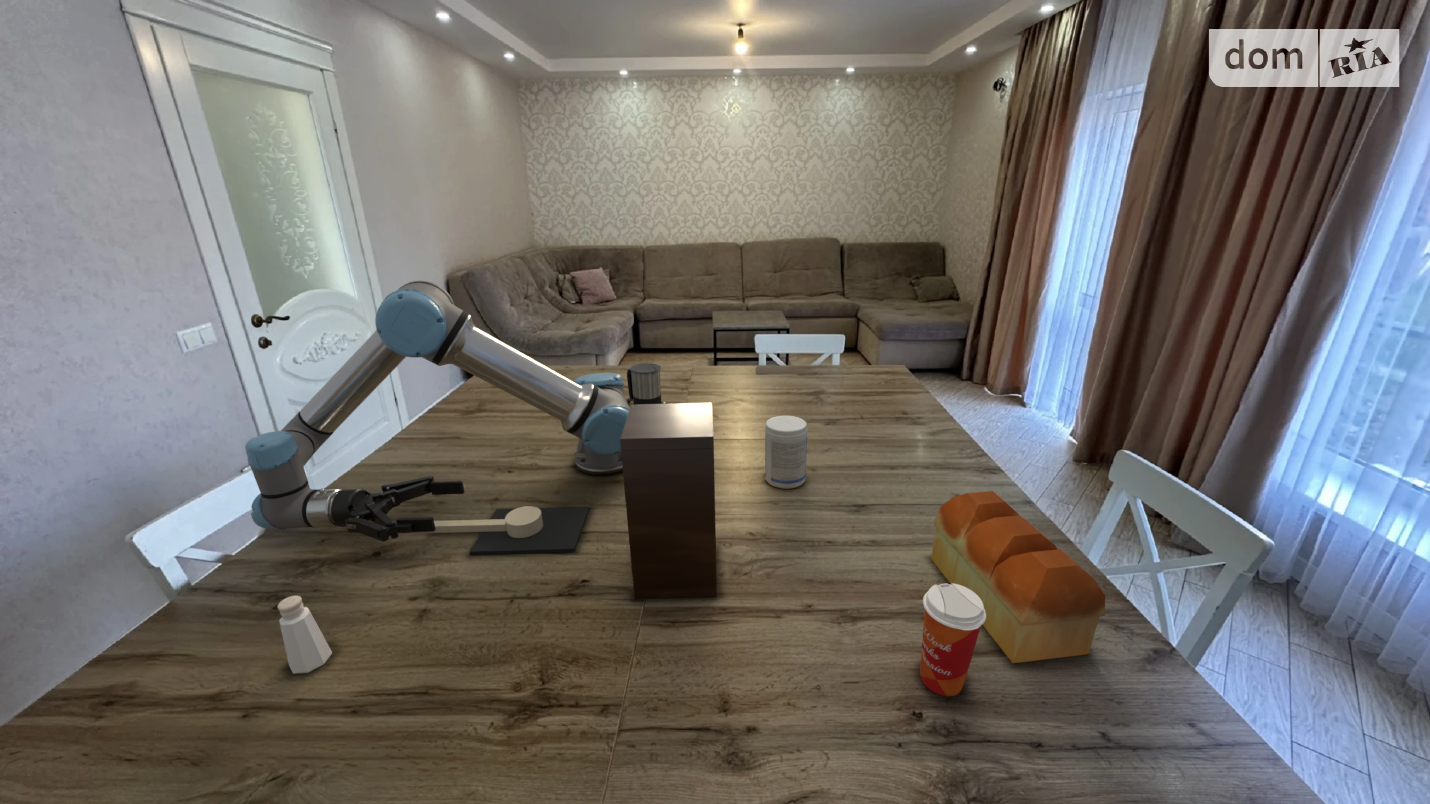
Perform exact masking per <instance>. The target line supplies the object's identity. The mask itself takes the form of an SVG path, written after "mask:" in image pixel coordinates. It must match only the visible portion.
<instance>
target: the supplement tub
mask: <svg viewBox="0 0 1430 804" xmlns="http://www.w3.org/2000/svg"><path fill="white" fill-rule="evenodd" d="M807 453H808V425H807V421H806V420H805V419H803V418H801V417H797V416H793V415H776V416H773V417H770V418H769V419H767V420H766V421H765V427H764V478H765V481H766V482H767V483H768V484H769V485H771V486H773V487H774V488H775V487H776V488H778V489H784V490H785V489H786V490H787V489H794V488H798V487H800V486H802V485H803V484H804V483H806V478H807Z"/></svg>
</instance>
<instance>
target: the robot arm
mask: <svg viewBox="0 0 1430 804" xmlns="http://www.w3.org/2000/svg"><path fill="white" fill-rule="evenodd" d="M374 322H375V323H374V324H375V329H376V330H375V331H374V332H373V333H372V334H371V335H370V336H369V337H368V338H367V339H366V341H365V342H364V343H362V345H361V346H360V347H359V348H358V349H356V351H355V352H354V353H353V354H352V355H351V356H350V357H349V358H348V359H347V361H345V362H344V363H343V365H341V367H340V368H339V369H338V370H337V371H336V372H335V373H334V374H333V375H332V377H330V379H329V380H327V381H326V383H325V384H324V385H323V386H322V387H320V389H319V390H318V391H317V392H316V393H315V394H314V395H313V396H312V398H310V399H309V401H308V402H307V403H306V404H305V405H304V406H303V407H302V408H301V409H300V410H299V411H298V412H297V413H296V414H295V415H294V416H293V417H292V419H290V420H289V421H288V422H287V424H286V425H284V427H283V428H282V429H281V430H276V431H269V432H265V433H261V434H258V435H257V436H255V437H252V438H250V439H249V440H248V441H247V442H246V443H245V445H244V450H245V453H246V456H247V463H248V466H250V469H251V472H252V475H253V477H254V479H255V482H256V484H257V487H258V489H259V491H260V493H259V494H258V495H256V497H254V499H253V501H252V503H251V506H250V508H251V509H252V511H251V513H250V516H251V519H252V522H253V523H254V524H255V525H256V526H258V527H259V528H263V529H276V530H288V529H302V528H303V529H305V528H312V529H313V528H316V529H317V528H318V529H319V528H320V529H321V528H322V529H323V528H325V529H326V528H334V529H335V528H347V531H348V533H358V534H361V535H364V536H367V537H370V538H372V539H375V540H378V541H381V542H387V541H388V540H390V538H391V539H392V540H395V539H398V538H399V534H410V533H427V532H434V531H435V530H436V528H435V524H434V521H435V520H434V517H433V516H424V517H419V516H418V517H397V518H396V520H393V519H392V518H391V517H390V516H389V515H387V514H388V513H389V512H390V511H391V510H392V509H394V508H396V507H399V506H400V505H401V504H402V503H404V502H408V501H410V500H411V501H412V500H413V499H417V498H419V497H422V496H426V495H428V494H431V495H432V496H438V495H439V496H440V495H441V496H442V495H464V494H465V487H464V483H463V480H452V481H451V480H449V481H448V480H447V481H445V480H444V481H435V478H434V476H433V475H428V476H424V477H420V478H415V479H410V480H405V481H402V482H401V481H400V482H397V483H390V484H388V483H387V484H382V485H381V487H380V489H381V491H379V492H375V493H370V492H369V491H367V490H366V489H364V488H361V487H359V488H358V487H356V488H355V487H353V488H332V489H331V488H328V489H324V488H320V489H319V488H318V489H314V488H311V487H310V484H309V480H308V477H307V473H306V470H305V466H306V464H307V463H308V462H309V461H310V459H311V458H313V456H314V455H315V453H316V452H317V451H318V450H319V449H320V447H322V446H323V445H324V444H325V443H326V441H327V440H328V439H330V437H331V436H332V435H333V434H334V433H335V432H336V431H337V430H338V428H340V426H341V425H342V424H344V422H346V421H347V419H348V418H349V417H350V416H351V415H352V414H353V413H354V412H355V411H356V410H357V408H359V407H360V406H361V405H362V403H364V402H365V401H366V399H367V398H368V397H369V396H371V394H372V393H373V392H374V391H375V390H376V389H377V388H378V387H379V386H380V385H381V384H382V383H383V382H384V381H385V380H386V379H387V378H388V376H389V375H390V374H391V373H392V372H393V371H394V370H395V369H396V368H397V367H398V366H399V365H400V364H401V363H402V362H403V361H404V360H405V359H406V358H422V359H425V361H428V362H430V363H432V364H434V365H436V366H438V367H441V366H446V365H452V366H455V367H457V368H459V369H461V370H462V371H465V372H466V373H468V374H471V375H473V376H474V377H476V378H478V379H480V380H482V381H484V382H487V383H488V384H489V385H492V386H494V387H496V388H497V389H499V390H501V391H503V392H505V393H507V394H509V395H511V396H513V397H515V398H517V399H518V400H521V401H522V402H525V403H526V404H528V405H530V406H532V407H534V408H536V409H538V410H540V411H542V412H544V413H545V414H548V415H549V416H550V417H553V418H555V419H557V420H559V422H560V423H561V428H562V430H563V431H565V432H567V433H569V434H570V435H572V436H573V437H576V438H578V442H577V447H576V451H575V452H574V462H575V468H577V470H579V471H580V472H581V473H583V474H587V475H593V476H607V475H614V474H618V473H621V472H623V466H622V455H621V444H620V438H621V435H622V432H623V429H624V426H625V423H626V419H627V416H628V413H629V410H630V406H629V404H628V403H629V402H631V401H632V400H633V399H630V397H628V398H627V399H626V397H625V391H624V385H625V384H624V381H623V376H622V375H620V374H619V373H615V372H595V373H589V374H584V375H581V376H578V377H577V378H576V379H574V381H573V380H571V379H570V378H568V377H566V376H564V375H563V374H561V373H559V372H557V371H556V370H553V369H552V368H550V367H548V366H547V365H545V364H543V363H541V362H540V361H538V360H536V359H534V358H533V357H531V356H528V355H527V354H526V353H524V352H521V351H520V350H518V349H516V348H515V347H512V346H511V345H509V344H508V343H506V342H504V341H503V340H500V339H498V338H497V337H495V336H493V335H491V334H489V333H488V332H486V331H484V330H482V329H481V328H479V327H477V326H476V325H475V323H474V320H473V318H472V315H471V314H470V313H468V312H467V311H465V310H463V309H461V308H459V307H458V306H456V305H455V302H454V300H453V297H452V296H451V295H450V294H449V292H447V290H445V288H444V287H442V286H440V285H438V284H437V283H434V282H432V281H427V280H413V281H410V282H407V283H405V284H403V285H401V286H400V287H399V288H398V289H397V290H395V291H392V292H391V293H389V294H387V295H386V296H385V298H384V299H383V301H381V303H380V305H379V306H378V308H377V310H376V313H375V321H374Z"/></svg>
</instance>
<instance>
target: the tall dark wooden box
mask: <svg viewBox="0 0 1430 804" xmlns="http://www.w3.org/2000/svg"><path fill="white" fill-rule="evenodd" d="M629 408H630V410H629V413H628V416H627V419H626V423H625V426H624V429H623V432H622V435H621V438H620V444H621V455H622V466H623V471H622V475H623V477H622V478H623V488H624V495H625V496H624V499H625V509H626V511H625V512H626V520H627V530H628V531H627V533H628V543H629V554H630V555H629V556H630V565H631V577H632V586H633V599H634V600H652V599H685V598H687V599H688V598H689V599H690V598H691V599H692V598H716V597H718V583H717V581H718V580H717V579H718V577H717V576H718V575H717V534H716V533H717V531H716V529H717V528H716V491H715V490H716V487H715V484H716V483H715V482H716V481H715V442H714V441H715V440H714V438H715V437H714V415H713V402H679V403H662V404H634V403H633V404H630V406H629Z"/></svg>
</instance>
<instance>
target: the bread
mask: <svg viewBox="0 0 1430 804" xmlns="http://www.w3.org/2000/svg"><path fill="white" fill-rule="evenodd" d="M933 525H934V526H935V532H934V538H933V546H932V552H931V558H930V559H931V561H932V562H933V563H934V564H935V566H936V567H937V568H938V570H939V571H940V572H941V574H942V575H943V576H944V578H945V579H946V580H947V581H948V582H949V584H951V583H954V584H958V585H961V586H964V587H966V588H968V589H970V590H972V591H973V592H974V593H975V594H977V595H978V596H979V598H980V599H981V601H982V603H983V606H984V609H985V612H986V619H985V622H984V623H983V624H982V625H981V626H983V627H984V629H985V630H986V631H987V633H989V635H990V637H991V638H992V639H993V640H994V642H995V643H996V644H997V645H998V646H999V648H1000V649H1001V651H1002V652H1003V653H1004V654H1005V655H1006V657H1007V658H1008V659H1009V660H1010V662H1011V663H1012V664H1016V663H1027V662H1034V661H1043V660H1051V659H1059V658H1067V657H1068V658H1069V657H1075V656H1077V657H1078V656H1085V655H1089V653H1090V650H1091V647H1092V643H1093V639H1094V636H1095V632H1096V630H1097V627H1098V623H1099V619H1100V618H1102V617H1104V616H1106V594H1105V593H1104V591H1103V590H1102V588H1101V587H1100V585H1099V584H1098V582H1097V580H1096V579H1095V578H1094V577H1092V576H1091V575H1090V574H1089V573H1088V572H1087V571H1086V570H1085V569H1084V568H1083V567H1082V566H1080V565H1079V564H1078V563H1076V561H1075V560H1073V559H1072V557H1070V556H1069V555H1067V554H1066V553H1065V552H1064V551H1063V550H1062V549H1061V548H1059V549H1058V547H1057V546H1056V544H1055V543H1054V542H1052V541H1051V540H1050V539H1049V538H1048V537H1046V535H1045V534H1043V533H1042V532H1041V531H1040V530H1039V529H1037V528H1036V527H1035V526H1034V525H1032V523H1030V522H1029V521H1028V520H1026V519H1025V518H1024V517H1023V516H1022V515H1020V513H1018V511H1016V510H1015V509H1014V508H1013V507H1012V506H1010V505H1009V504H1008V503H1007V501H1005V500H1004V499H1003V498H1002V497H1000V496H999V495H998V494H997V493H996V492H995V491H993V490H990V491H989V490H987V491H976V492H975V491H974V492H966V493H962V494H959V495H957V496H953V497H951V498H950V499H949V500H947V501H946V502H944V503H943V504H942V505H940V507H939V509H938V511H937V514H936V516H935V519H934V521H933Z"/></svg>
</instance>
